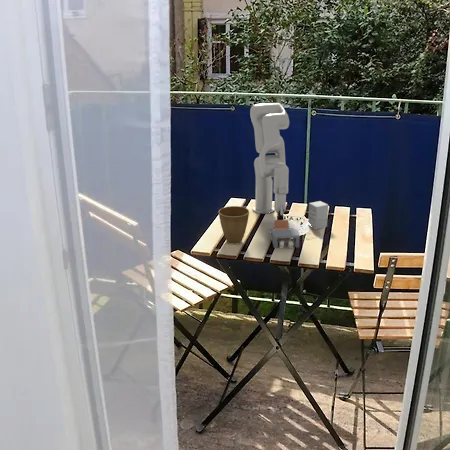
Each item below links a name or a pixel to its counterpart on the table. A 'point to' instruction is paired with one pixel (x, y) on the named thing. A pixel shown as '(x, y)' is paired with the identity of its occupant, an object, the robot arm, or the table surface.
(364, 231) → the table surface
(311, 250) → the table surface
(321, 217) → the supplement box
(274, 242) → the bridge
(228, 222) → the plant pot
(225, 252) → the table surface
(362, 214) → the table surface
